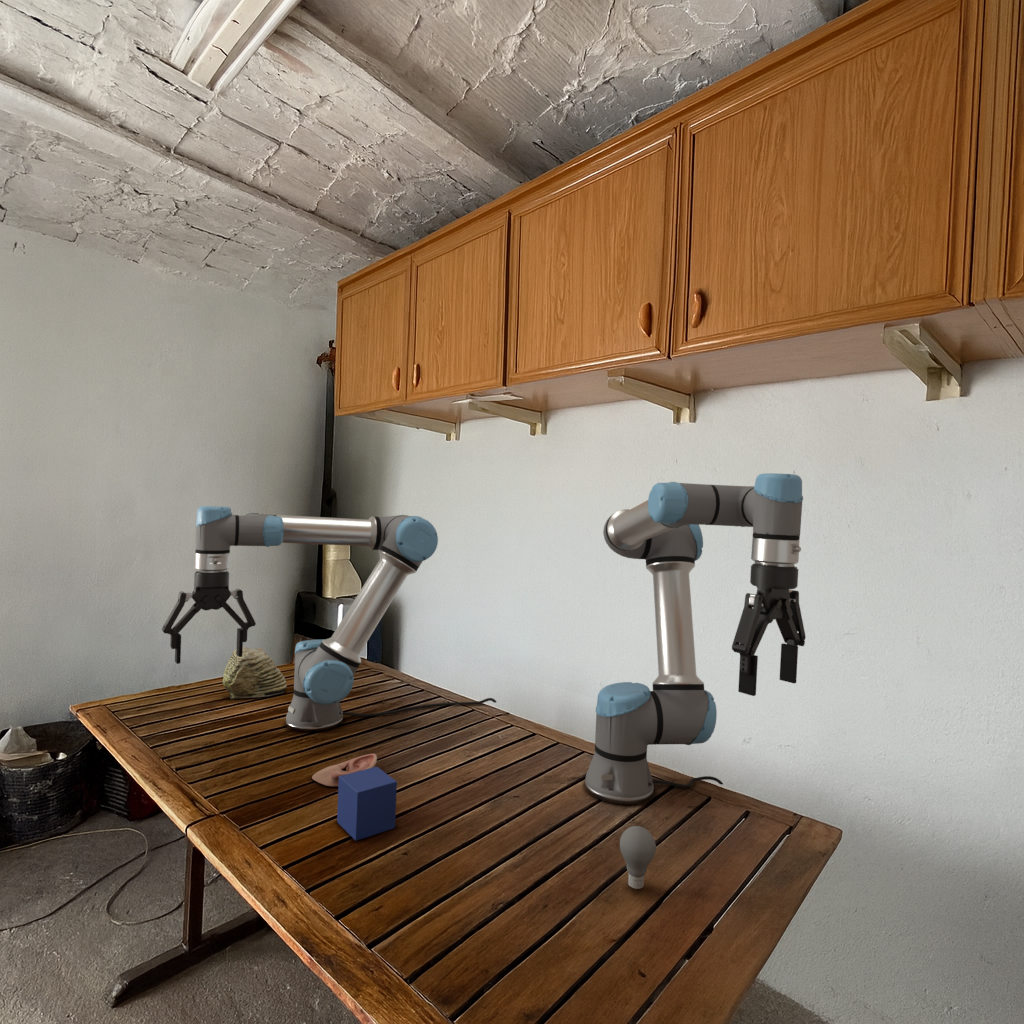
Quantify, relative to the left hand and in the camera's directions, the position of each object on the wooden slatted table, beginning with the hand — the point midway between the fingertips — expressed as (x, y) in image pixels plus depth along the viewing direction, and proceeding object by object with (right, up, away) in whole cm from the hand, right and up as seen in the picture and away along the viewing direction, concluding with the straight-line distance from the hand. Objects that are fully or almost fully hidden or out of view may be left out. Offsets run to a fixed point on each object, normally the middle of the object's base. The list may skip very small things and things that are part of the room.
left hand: (209, 659), depth 152 cm
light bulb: (+93, -28, -45) cm, 107 cm away
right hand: (+117, +5, -43) cm, 124 cm away
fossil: (-8, -22, +46) cm, 52 cm away
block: (+44, -26, -29) cm, 59 cm away
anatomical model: (+35, -25, -8) cm, 43 cm away
